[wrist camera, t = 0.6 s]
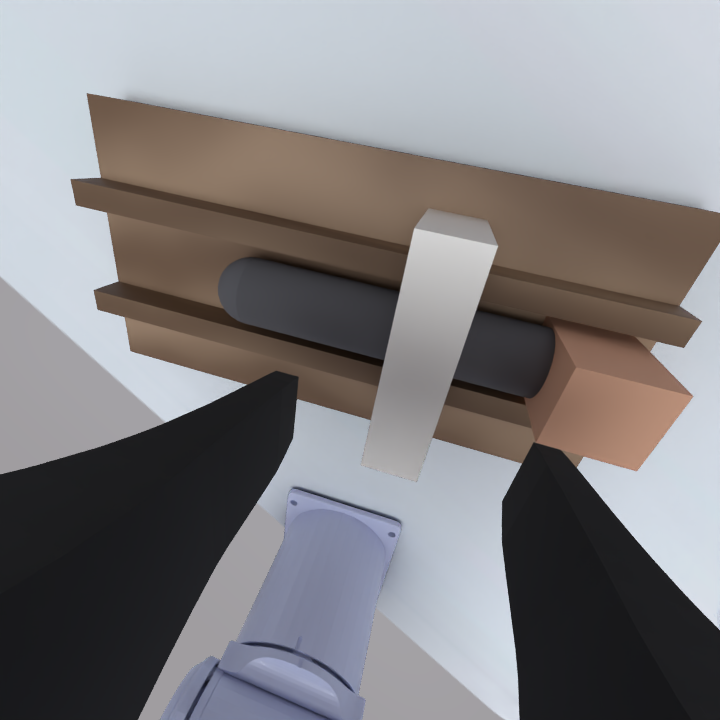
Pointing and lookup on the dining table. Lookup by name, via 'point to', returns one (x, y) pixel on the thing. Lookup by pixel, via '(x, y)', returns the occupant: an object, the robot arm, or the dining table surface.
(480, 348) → the grey slider with block
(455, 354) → the grey bracket
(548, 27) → the dining table surface
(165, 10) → the dining table surface
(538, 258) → the channel deck
